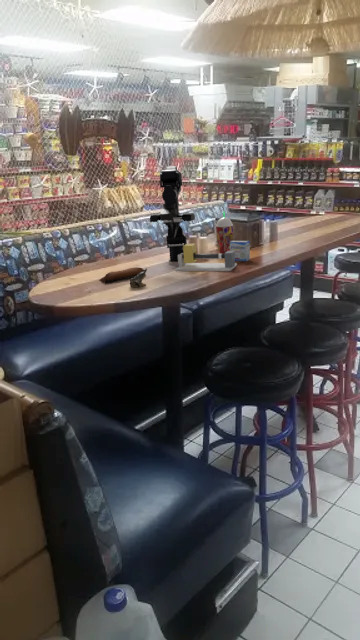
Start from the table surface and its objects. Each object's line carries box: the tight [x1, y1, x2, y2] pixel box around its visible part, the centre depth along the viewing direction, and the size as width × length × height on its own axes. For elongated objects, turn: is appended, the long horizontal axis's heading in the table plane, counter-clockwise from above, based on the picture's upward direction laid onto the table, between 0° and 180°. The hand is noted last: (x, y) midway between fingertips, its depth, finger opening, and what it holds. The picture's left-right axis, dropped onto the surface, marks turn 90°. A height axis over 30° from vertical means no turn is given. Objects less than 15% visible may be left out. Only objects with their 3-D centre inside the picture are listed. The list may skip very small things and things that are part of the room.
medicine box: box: [230, 240, 251, 262], centre depth 230 cm, size 8×4×9 cm, turn 62°
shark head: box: [129, 268, 148, 288], centre depth 196 cm, size 8×6×7 cm
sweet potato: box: [98, 267, 144, 284], centre depth 212 cm, size 18×7×7 cm, turn 123°
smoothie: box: [215, 211, 234, 254], centre depth 246 cm, size 8×8×20 cm
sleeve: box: [183, 243, 198, 263], centre depth 221 cm, size 4×5×8 cm
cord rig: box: [174, 251, 238, 272], centre depth 220 cm, size 24×12×7 cm, turn 70°
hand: (173, 237), depth 222 cm, fingers closed
